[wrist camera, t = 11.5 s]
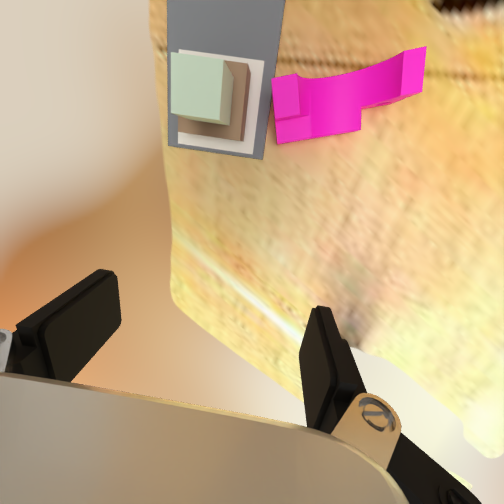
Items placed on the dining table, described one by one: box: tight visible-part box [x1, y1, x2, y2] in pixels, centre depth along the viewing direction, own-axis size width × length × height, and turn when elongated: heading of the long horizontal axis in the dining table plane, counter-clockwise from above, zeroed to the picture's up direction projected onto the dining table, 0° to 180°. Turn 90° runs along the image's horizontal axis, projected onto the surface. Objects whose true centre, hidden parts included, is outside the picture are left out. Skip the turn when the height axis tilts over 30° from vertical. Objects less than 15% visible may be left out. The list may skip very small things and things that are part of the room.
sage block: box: [171, 52, 234, 126], centre depth 26 cm, size 5×5×6 cm
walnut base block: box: [178, 60, 251, 142], centre depth 31 cm, size 8×8×4 cm
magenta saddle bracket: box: [271, 47, 426, 144], centre depth 29 cm, size 15×6×8 cm, turn 99°
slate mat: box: [167, 0, 285, 160], centre depth 31 cm, size 14×22×1 cm, turn 172°
